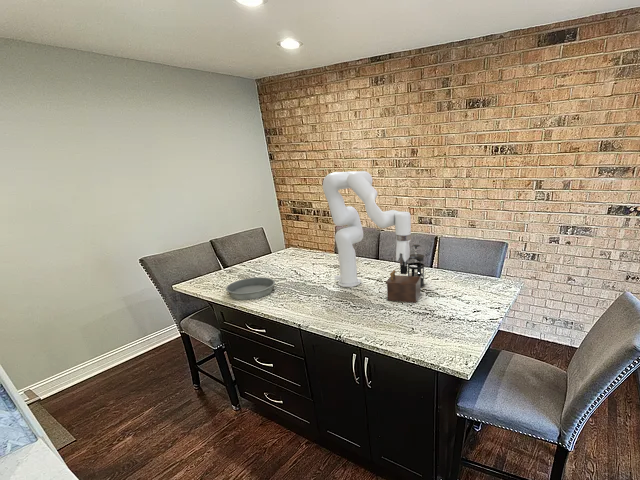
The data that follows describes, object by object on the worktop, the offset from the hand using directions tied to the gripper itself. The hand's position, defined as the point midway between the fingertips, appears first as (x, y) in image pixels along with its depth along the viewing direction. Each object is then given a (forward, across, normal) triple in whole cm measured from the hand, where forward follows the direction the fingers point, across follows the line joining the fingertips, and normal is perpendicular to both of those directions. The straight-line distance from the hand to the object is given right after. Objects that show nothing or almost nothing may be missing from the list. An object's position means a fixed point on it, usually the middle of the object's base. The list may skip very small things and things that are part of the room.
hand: (403, 273), depth 172 cm
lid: (+3, +3, 0) cm, 4 cm away
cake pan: (+12, +14, -82) cm, 84 cm away
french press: (+12, -16, +3) cm, 20 cm away
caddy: (+12, +3, +1) cm, 12 cm away
